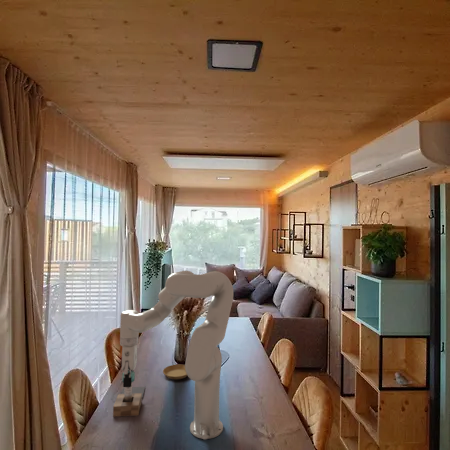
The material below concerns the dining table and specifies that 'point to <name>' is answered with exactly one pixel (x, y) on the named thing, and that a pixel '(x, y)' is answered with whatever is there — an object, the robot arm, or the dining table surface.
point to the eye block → (127, 405)
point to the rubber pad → (135, 390)
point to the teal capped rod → (129, 388)
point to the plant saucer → (175, 371)
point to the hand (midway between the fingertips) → (128, 383)
